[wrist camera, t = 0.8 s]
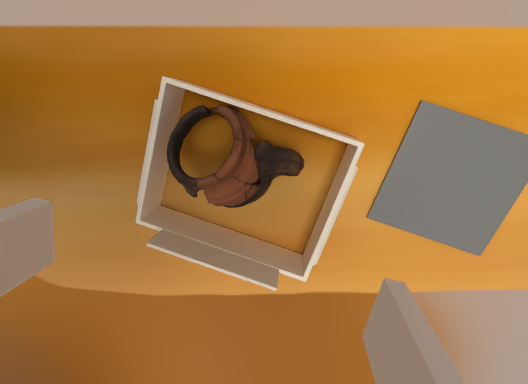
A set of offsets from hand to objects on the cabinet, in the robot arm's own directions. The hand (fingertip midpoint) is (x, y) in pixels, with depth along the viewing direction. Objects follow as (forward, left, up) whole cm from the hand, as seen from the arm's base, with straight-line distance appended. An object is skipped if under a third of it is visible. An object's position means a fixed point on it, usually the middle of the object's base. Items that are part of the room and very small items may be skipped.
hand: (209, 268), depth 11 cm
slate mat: (+17, +4, -19) cm, 26 cm away
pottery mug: (-1, -1, -20) cm, 20 cm away
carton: (-2, -1, -19) cm, 19 cm away
